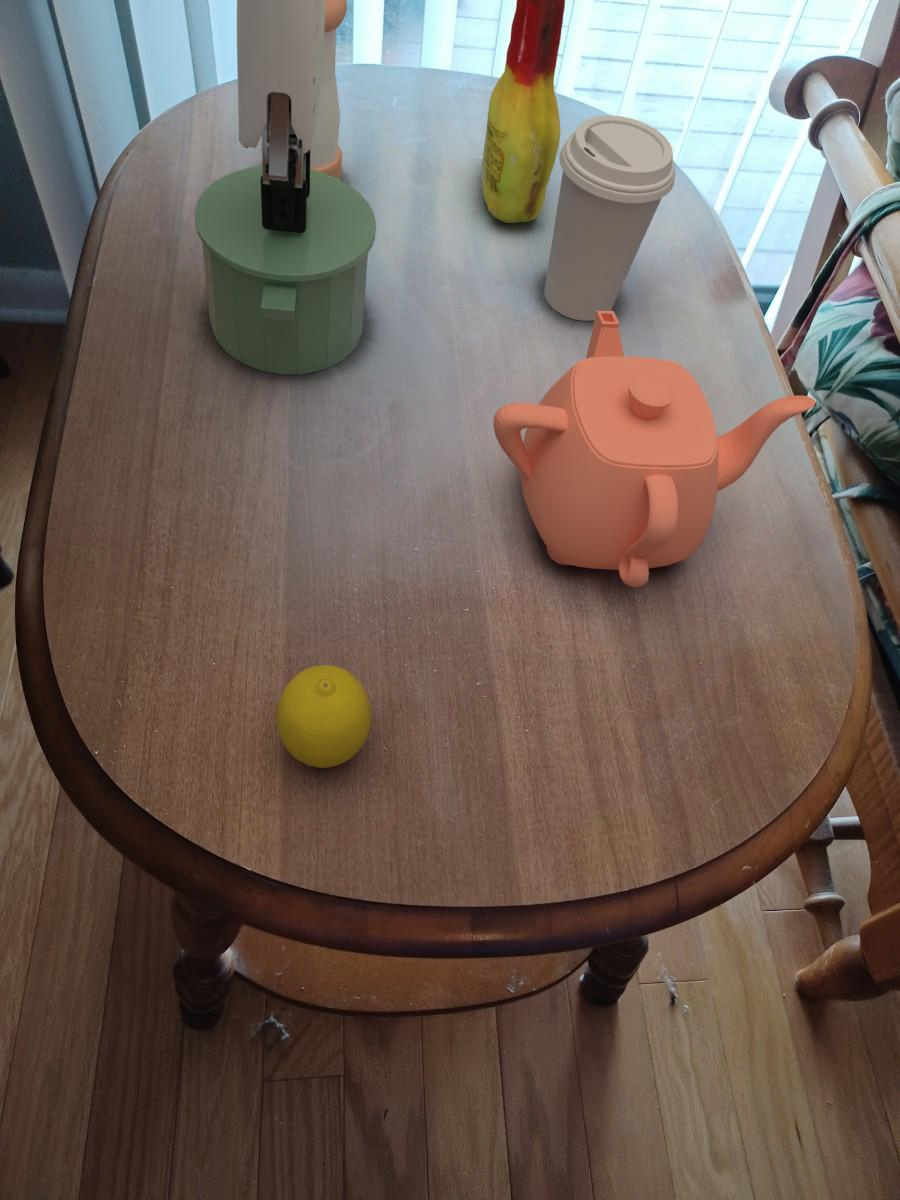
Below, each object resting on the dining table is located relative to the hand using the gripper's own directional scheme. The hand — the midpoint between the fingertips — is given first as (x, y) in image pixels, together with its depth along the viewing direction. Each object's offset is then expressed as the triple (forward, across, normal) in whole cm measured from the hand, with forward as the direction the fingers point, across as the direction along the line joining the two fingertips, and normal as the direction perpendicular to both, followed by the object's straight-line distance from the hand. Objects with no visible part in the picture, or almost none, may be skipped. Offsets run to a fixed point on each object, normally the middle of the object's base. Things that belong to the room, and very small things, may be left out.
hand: (286, 209), depth 72 cm
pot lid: (+1, 0, 0) cm, 1 cm away
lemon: (+11, +39, +5) cm, 41 cm away
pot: (+11, 0, 0) cm, 11 cm away
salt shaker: (+11, -20, 0) cm, 23 cm away
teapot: (+11, +18, +26) cm, 33 cm away
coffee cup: (+11, -7, +26) cm, 29 cm away
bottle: (+11, -21, +20) cm, 31 cm away
